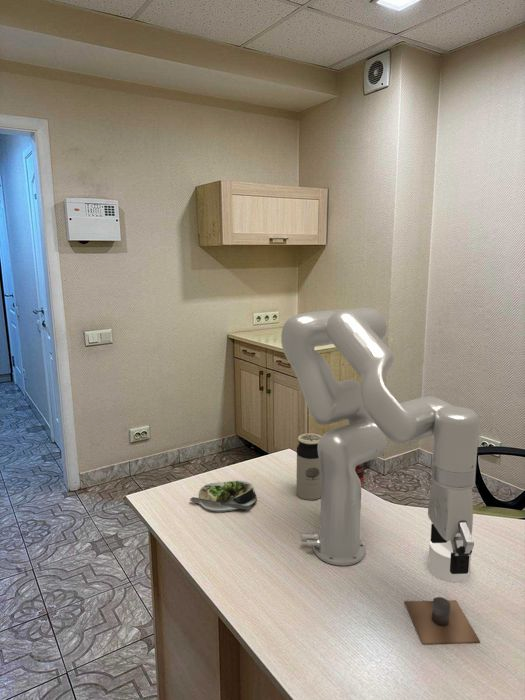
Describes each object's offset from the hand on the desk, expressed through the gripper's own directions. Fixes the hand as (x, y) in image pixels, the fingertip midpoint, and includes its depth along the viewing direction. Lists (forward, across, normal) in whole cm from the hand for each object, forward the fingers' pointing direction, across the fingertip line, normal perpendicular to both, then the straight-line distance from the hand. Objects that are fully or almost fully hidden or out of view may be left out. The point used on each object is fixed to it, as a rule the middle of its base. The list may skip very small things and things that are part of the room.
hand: (448, 556), depth 95 cm
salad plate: (+14, -51, -44) cm, 69 cm away
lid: (+16, -1, 0) cm, 16 cm away
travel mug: (+14, -53, -20) cm, 58 cm away
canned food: (+14, -61, -6) cm, 63 cm away
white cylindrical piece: (+15, -17, +8) cm, 24 cm away
